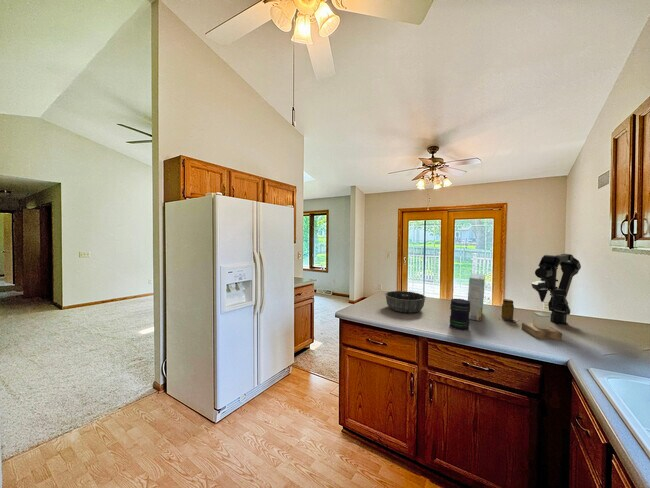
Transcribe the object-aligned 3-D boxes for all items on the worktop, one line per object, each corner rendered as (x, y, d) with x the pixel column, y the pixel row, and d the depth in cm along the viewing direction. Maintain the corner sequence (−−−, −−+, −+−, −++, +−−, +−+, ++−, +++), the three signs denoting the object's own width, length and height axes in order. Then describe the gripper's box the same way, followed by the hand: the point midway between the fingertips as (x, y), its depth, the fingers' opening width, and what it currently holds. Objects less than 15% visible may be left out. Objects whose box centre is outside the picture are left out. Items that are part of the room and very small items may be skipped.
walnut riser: (545, 331, 144) (545, 324, 144) (561, 340, 132) (562, 332, 132) (521, 329, 146) (521, 322, 146) (535, 338, 134) (535, 330, 134)
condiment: (502, 316, 167) (503, 298, 166) (518, 320, 161) (519, 301, 160) (498, 318, 163) (499, 299, 162) (514, 322, 156) (516, 303, 155)
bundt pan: (379, 304, 190) (380, 290, 190) (414, 303, 193) (414, 290, 193) (392, 316, 164) (393, 300, 163) (432, 315, 167) (433, 299, 166)
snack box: (482, 322, 156) (484, 279, 155) (465, 319, 161) (468, 277, 159) (483, 312, 175) (485, 274, 173) (468, 310, 179) (470, 272, 178)
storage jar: (446, 327, 147) (448, 300, 146) (452, 322, 154) (453, 297, 153) (466, 332, 140) (467, 304, 139) (471, 327, 147) (472, 301, 146)
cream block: (542, 325, 141) (543, 312, 141) (549, 329, 136) (550, 315, 136) (532, 325, 142) (533, 312, 141) (539, 328, 137) (540, 315, 136)
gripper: (524, 273, 160) (522, 298, 161) (546, 279, 142) (544, 307, 143) (544, 274, 159) (542, 299, 160) (568, 280, 140) (566, 309, 141)
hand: (547, 303), depth 151 cm, fingers open, 9 cm apart
